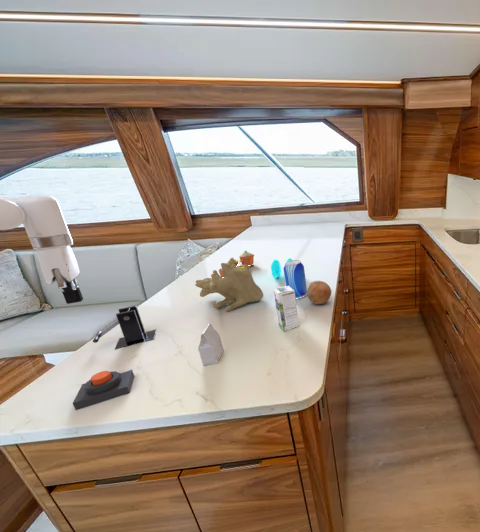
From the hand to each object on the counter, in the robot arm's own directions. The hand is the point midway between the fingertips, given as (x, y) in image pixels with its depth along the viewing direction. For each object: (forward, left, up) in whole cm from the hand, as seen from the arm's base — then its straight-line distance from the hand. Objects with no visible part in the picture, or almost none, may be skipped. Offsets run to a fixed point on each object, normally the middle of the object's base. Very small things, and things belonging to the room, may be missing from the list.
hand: (75, 301), depth 88 cm
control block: (+7, -26, -18) cm, 32 cm away
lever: (+6, +1, -11) cm, 13 cm away
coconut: (+71, -6, -18) cm, 73 cm away
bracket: (+10, +1, -18) cm, 21 cm away
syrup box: (+55, -19, -18) cm, 61 cm away
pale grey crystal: (+31, -25, -18) cm, 43 cm away
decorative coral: (+40, +15, -18) cm, 46 cm away
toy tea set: (+47, +62, -18) cm, 80 cm away
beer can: (+65, +6, -18) cm, 68 cm away
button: (+7, -26, -14) cm, 30 cm away
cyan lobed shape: (+66, +35, -18) cm, 77 cm away
